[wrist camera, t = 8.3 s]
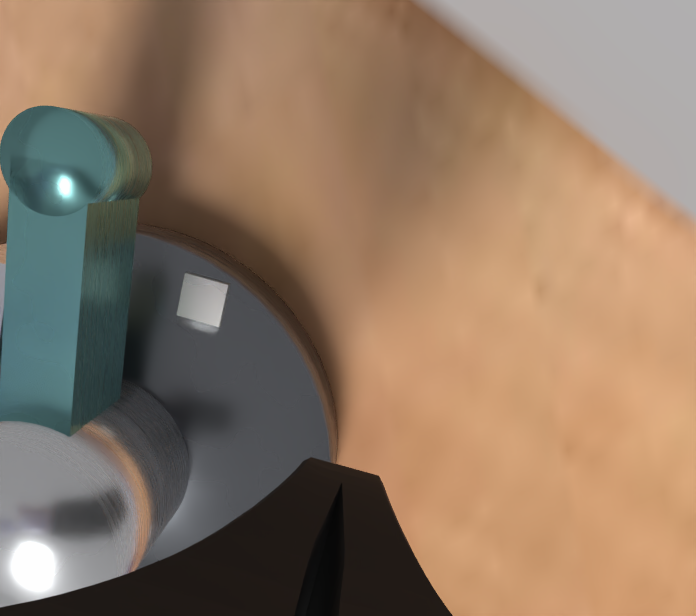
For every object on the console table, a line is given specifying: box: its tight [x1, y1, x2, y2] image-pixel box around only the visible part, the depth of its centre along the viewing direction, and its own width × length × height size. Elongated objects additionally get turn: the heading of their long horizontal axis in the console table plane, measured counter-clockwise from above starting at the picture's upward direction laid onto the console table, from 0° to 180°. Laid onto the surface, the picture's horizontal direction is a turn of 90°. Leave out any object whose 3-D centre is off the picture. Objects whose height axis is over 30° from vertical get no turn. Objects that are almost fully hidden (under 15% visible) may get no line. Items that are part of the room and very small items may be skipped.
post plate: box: [0, 224, 338, 570], centre depth 14 cm, size 11×11×4 cm
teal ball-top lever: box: [0, 106, 189, 607], centre depth 12 cm, size 10×4×4 cm, turn 169°
